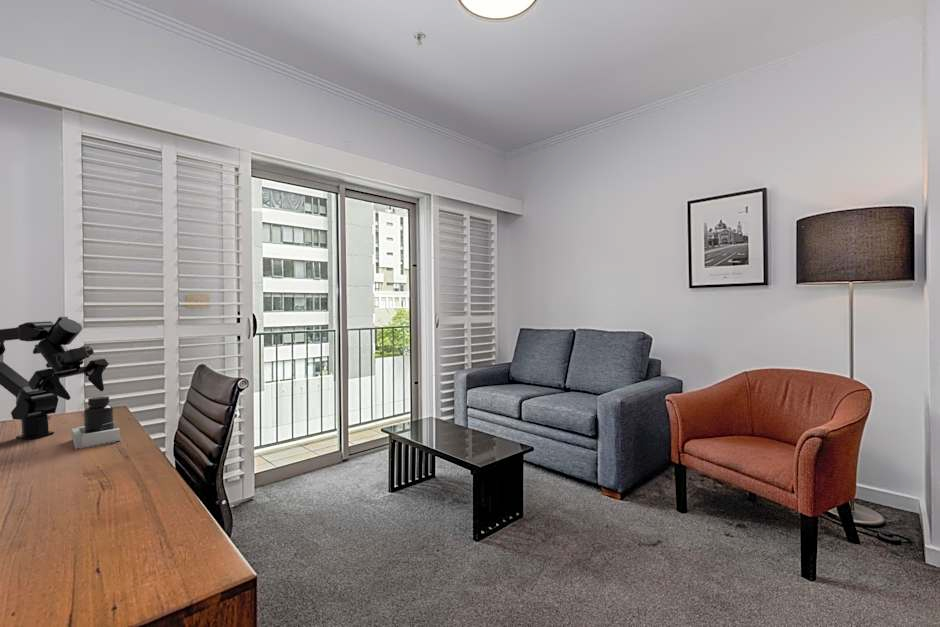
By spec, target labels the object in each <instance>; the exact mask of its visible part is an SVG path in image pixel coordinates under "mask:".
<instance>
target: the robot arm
mask: <svg viewBox="0 0 940 627" xmlns="http://www.w3.org/2000/svg"><path fill="white" fill-rule="evenodd" d="M82 331H83V326H82V324H81V323H79V322H77V321H75V320H73V319H70V318H68V316H59V317H58V318H57V320H56V322H55V323H54V322H53V321H48V320H47V321H29V322H24V323H21V324H19V325H18V326H17V327H10V328H2V329H0V386H2V387H3V388H4V389H5V390H7V391H8V392H9V393H10V394H12V395H13V396H14V397H15V398H16V399H15V407H14V408H13V409H12V410H11V412H10V415H11V417H12V420H20V421H21V434H20V435H16V436H15V439H24V440H33V439H37V438H42V437H45V436H50V435H53V434H55V432H54V431H49V430H50V429H49V428H50V427H49V416H48V415H50V414H55V413H56V410H57V407H58V403H59V398H61V399H64V400H66V401H69V400H71V396H70V393H69V392H68V391H67V389H66V388H65V387H64V386H63V383H61V381H60V379H63V378H68V377H72V376H77V375H83V374H84V375H85V376H86V377H87V380H88V381H89V382H90V383H91V384H92V385H93V386H94V387H95V388H96V389H97V390H98V391H99V392H104V390H105V387H104V386H105V385H104V380H103V373H104V372H105V370H106V369H107V368H108V366H109V365H110V364H109V362H108V360H106V358H97V359H92V360H90V361H89V362H87V364H86V366H84V365H83V364H84V360H85V359H87V358H88V359H89V358H90V356H91V355H94V353H95V352H94V350H93V347H92V346H91V345H90V344H86V345H82V346H80V347H78V348H77V347H75V348H73V349H72V348H70V349H68V347H66V346H67V345H70V344H72V342H73V341H74V340H75V339H76V338H77V336H78V335H79V334H80V333H81V332H82ZM16 340H17V341H18V340H19V341H21V342H22V341H23V342H38V343H37V344H35V345H34V348H33V350H32V354H33V355H37V354H41V356H42V357H43V358H44V360H45V361H46V364H45V366H46V368H45V369H40V370H36V371H35V372H34V373H33V375H32V376H31V378H30V379H29V381H28V379H26V378H24V377H23V376H22V375H20V374H19V372H17V371H16V370H14V369H13V368H12V367H10V366H9V365H8V364H7V363H5V362H4V353H5V351H6V348H5V344H4V343H5V342H6V341H16ZM81 365H83V366H81Z"/></svg>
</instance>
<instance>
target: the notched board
mask: <svg viewBox="0 0 940 627" xmlns="http://www.w3.org/2000/svg"><path fill="white" fill-rule="evenodd" d="M71 440H73V441H72V444H73V443H74V444H73V447H74V446H75V447H74V448H75V450H78V449H77V448H80V449H85V448H84V447H86V448H91V447H95V445H97V446H101V444H102V445H107V444H106V443H108V444H112V443H111V442H114V443H117V442H116V441H119V442H121V428H119V427H118V428H116V422H115V421H114V429H111V430H105V431H99V432H93V433H86V434H85V431H84V425H83V426H78V427H77V426H76V427H72V428H71ZM90 446H91V447H90Z"/></svg>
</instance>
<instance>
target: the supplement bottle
mask: <svg viewBox="0 0 940 627" xmlns="http://www.w3.org/2000/svg"><path fill="white" fill-rule="evenodd" d="M87 401H88V403H87V405H88V407H87V408H85V410H84V411H83V421H84V422H83V423H84V425H83V426H84V431H85V434H86V433H93V432H99V431H105V430H111V429H114V422H115V419H114V418H115V414H114V407H113V406H112V405H110V404H109V403H110V397H109V396H107V395H106V396H105V395H104V396H101V395H100V396H93V397H89V398H88V400H87Z"/></svg>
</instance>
